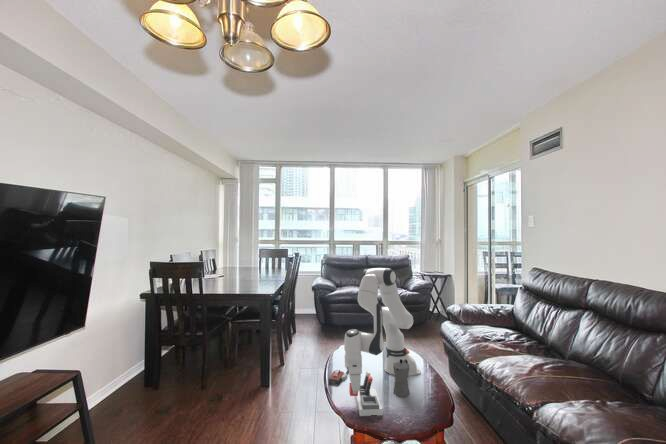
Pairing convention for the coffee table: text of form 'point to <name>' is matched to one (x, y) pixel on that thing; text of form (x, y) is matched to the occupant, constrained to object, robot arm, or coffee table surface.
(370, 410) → the white compartment tray
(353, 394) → the lockout cap
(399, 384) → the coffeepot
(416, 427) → the coffee table surface
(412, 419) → the coffee table surface
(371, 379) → the lever tagged
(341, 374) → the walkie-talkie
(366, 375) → the lever plain
